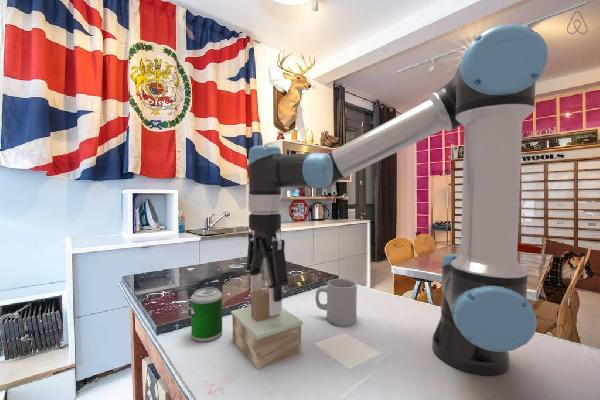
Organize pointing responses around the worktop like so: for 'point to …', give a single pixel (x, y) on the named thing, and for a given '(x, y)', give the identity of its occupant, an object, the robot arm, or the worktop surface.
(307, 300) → the worktop surface
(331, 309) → the mug
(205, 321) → the soda can
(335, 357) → the pad
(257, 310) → the lid
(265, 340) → the crate
